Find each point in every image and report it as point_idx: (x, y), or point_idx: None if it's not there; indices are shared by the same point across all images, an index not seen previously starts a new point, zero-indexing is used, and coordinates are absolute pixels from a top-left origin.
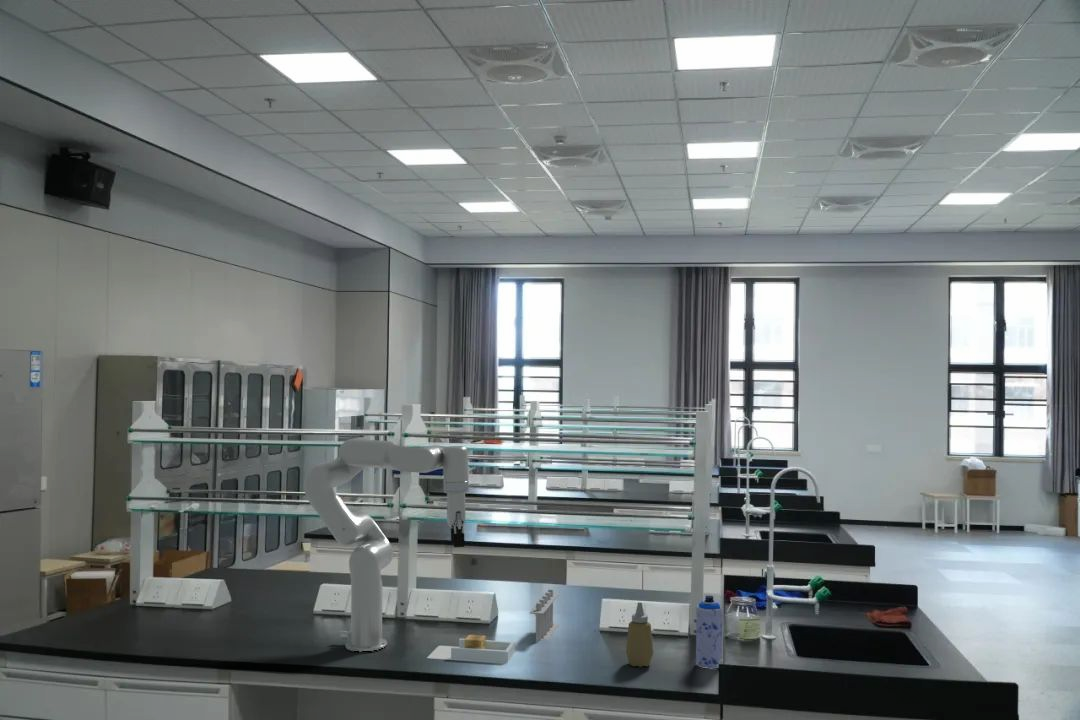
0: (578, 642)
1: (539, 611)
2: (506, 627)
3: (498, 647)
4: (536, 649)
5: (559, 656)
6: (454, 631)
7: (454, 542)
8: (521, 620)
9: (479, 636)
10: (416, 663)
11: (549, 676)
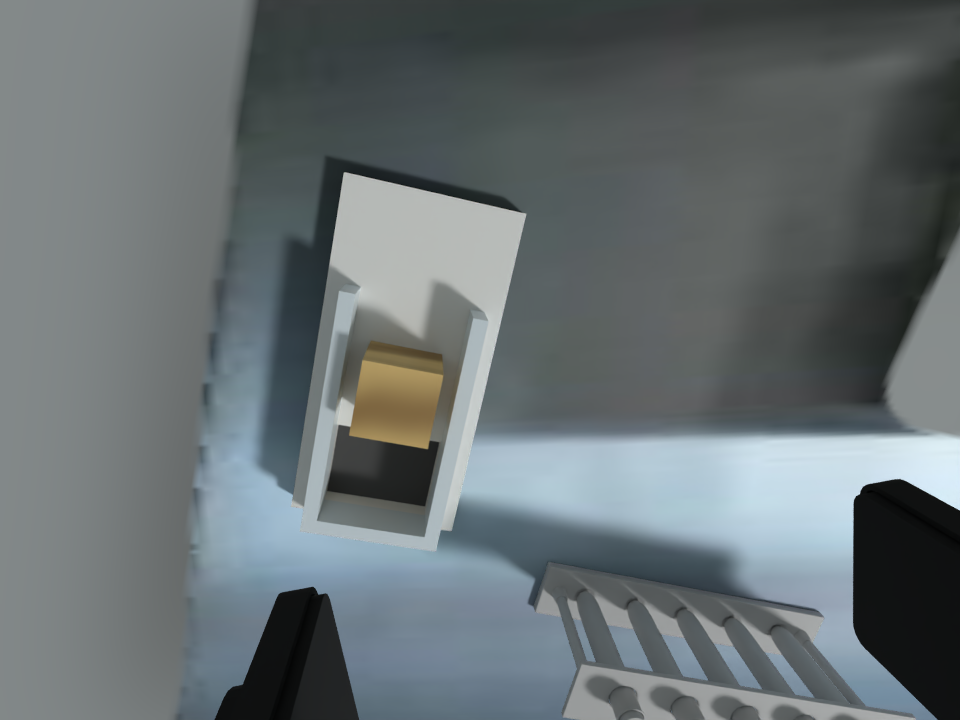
0: None
1: (594, 703)
2: (817, 473)
3: (435, 478)
4: (527, 587)
5: (447, 659)
6: (793, 261)
7: (265, 656)
8: None
9: (413, 423)
10: (342, 125)
11: (230, 633)
